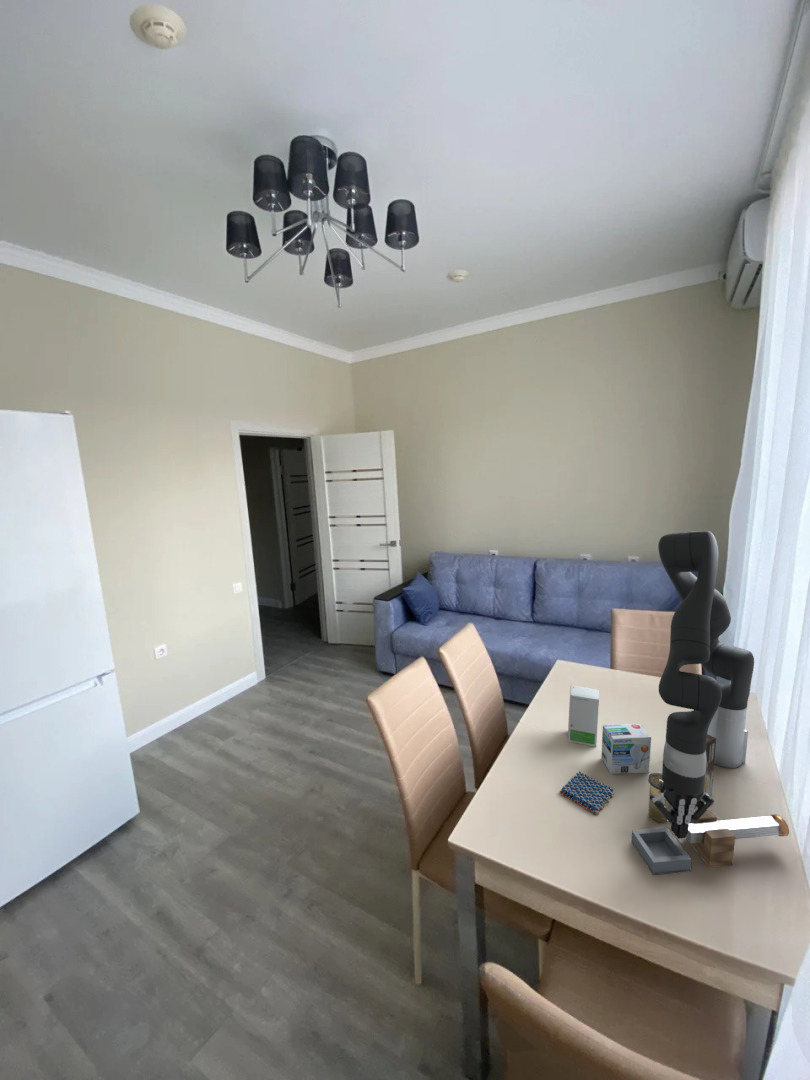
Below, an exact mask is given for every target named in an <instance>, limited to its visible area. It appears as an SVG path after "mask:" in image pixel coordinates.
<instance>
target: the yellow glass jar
mask: <svg viewBox="0 0 810 1080" xmlns="http://www.w3.org/2000/svg"><path fill="white" fill-rule="evenodd" d="M647 777H648V778H647V780H648V783H649V794H648V796H649V798H648V817H649V818H650V820H651V821H652V822H654V823H655V824H659V825H660V824H661V825H665V824H666V823H668V820H667V819H666V817H665V816H664V815H663V814H662V813H661V812H660V811H659V809H658V808H657V807H656V806H655V805H654V803H653V802H652V801H651V799H650V796H651V795H654V796H655V797H656V796H657V795H659V794H660V793H661V791H660V790H661V787H662V786H663V779H662V773H659V772H652V773H650V774H649V775H648V776H647ZM665 803H666V804H665V805H666V807H665V808H666V809H667V810H668V811H669V805H668V801H667V800H666V799H665Z"/></svg>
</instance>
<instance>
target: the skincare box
mask: <svg viewBox="0 0 810 1080" xmlns="http://www.w3.org/2000/svg"><path fill="white" fill-rule="evenodd" d="M569 687H570V689H569V702H568V704H569V707H568V709H569V710H568V725H567V726H568V727H567V728H568V729H567V741H568V742H570V743H575V744H580V745H586V746H589V747H590V746H591V747H595V748H596V747H597V741H598V726H599V725H598V723H599V722H598V721H599V706H600V691H599V689H595V688H589V687H586V686H577V685H573V684H572V685H570V686H569Z"/></svg>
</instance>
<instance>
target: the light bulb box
mask: <svg viewBox="0 0 810 1080" xmlns="http://www.w3.org/2000/svg"><path fill="white" fill-rule="evenodd" d="M601 733H602V735H601V738H602V739H601V755H600V756H601V760H602V762H603V763H604V765H605V766H606V768H607V769H608V771H609V772H610V774H611V775H616V774H648V773H650V760H651V748H652V747H651V746H652V736H650V735H649V733H648V732H647V731H646V730H645V729H644V728H643V727H642V726H641V724H640V723H639V722H638V723H637V722H636V723H619V724H603V725H602V732H601Z"/></svg>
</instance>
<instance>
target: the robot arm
mask: <svg viewBox="0 0 810 1080" xmlns="http://www.w3.org/2000/svg"><path fill="white" fill-rule="evenodd" d="M657 548H658V554H659V558H660V561H661V564H662V566H663V568H664V571H665V572H666V574H667V575H668V578H669V580H670V581H671V583H672V585H673V587H674V589H675V591H676V593H677V595H678V597H679V600H680V604H679V605H678V607H677V609H676V610H675V612H674V614H673V615H672V619H671V623H670V638H669V639H670V641H669V654H668V657H667V662H666V664H665V668H664V669H663V673H662V675H661V677H660V680H659V683H658V693H659V696H660V698H661V700H662V701H663V702H664V703H665V704H667V705H668V706H673V707H677V708H682V709H688V710H690V711H674V712H671V713H670V714H669V715H668V716H667V719H666V729H665V741H664V746H663V754H662V756H663V757H662V767H661V768H662V770H661V771H662V773H661V774H662V779H663V786H662V787H661V790H660V791H661V793H660V794H659V795H657V796H656V797H655V796H654V795H651V796H650V799H651V801H652V802H653V803H654V805H655V806H656V807H657V808H658V809H659V811H660V812H661V813H662V814H663V815H664V816H665V817H666V819H667V822H669V823H670V830H671V831H670V832H671V833H673V835H674V837H675V838H676V839H679V840H680V839H687V838H686V835H687V834H688V824H689V823H690V821H691V820H695V821H697V820H698V819H699V818H700V817H701V816H702V815H703V814H704V813H705V811H706V810H709V808H710V807H711V806H712V804H714V802H715V801H714V799H713V798H712V797H711V796H709V795H708V794H707V793H706V792H705V791H704V785H705V773H706V761H707V759H706V742H707V734H708V735H710V736H712V737H715V738H716V749H715V762H714V765H717V766H720V767H723V768H727V769H728V768H729V769H733V768H738V767H740V766H741V765H742V764H745V763H746V759H747V758H746V757H747V747H748V738H749V730H747V729H746V724H747V723H746V721H747V710H748V701H749V697H750V692H751V687H752V686H751V685H752V679H753V674H754V668H755V658H754V654H753V653H752V652H751V651H750V650H748V649H745V648H741V647H739V646H738V647H737V646H734V645H731V644H728V643H725V642H722V641H720V640H719V637H720V636H721V635H723V633H725V632H726V631H727V630H728V628H729V627H730V624H731V620H732V619H731V618H732V617H731V613H730V609H729V606H728V604H727V601H726V598H725V597H724V596H723V594H722V593H721V592H720V591H718V589H716V581H717V575H718V569H719V567H718V566H719V546H718V543H717V539H716V537H715V535H714V533H712V532H711V531H709V530H694V531H682V532H673V533H668V534H664V535H663V536H661V537H660V539H659V541H658V546H657ZM694 572H698V573H697V576H696V575H695V574H693V573H694ZM686 665H688V666H689V665H702V667H703V670H704V671H706V672H708V673H709V674H711V675H713V676H715V677H718V678H720V679H721V678H722V679H724V680H727V681H730V684H729V683H727V684H726V683H719V682H718V680H716V679H715V678H714V677H713V676H711V675H706V674H697V673H693V672H687V671H681V670H680V669H681V668H682V667H683V666H686ZM665 799H666V800H667V801H668V805H669V806H668V808H669V809H668V810H667V809H666V808H665V807H666V805H665V804H666V803H665ZM696 808H697V809H696ZM695 809H696V810H695ZM694 811H696V812H694Z"/></svg>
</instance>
